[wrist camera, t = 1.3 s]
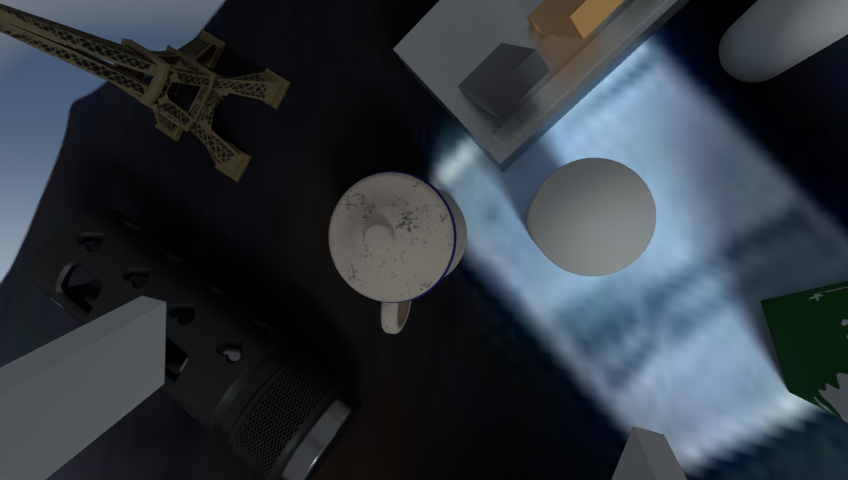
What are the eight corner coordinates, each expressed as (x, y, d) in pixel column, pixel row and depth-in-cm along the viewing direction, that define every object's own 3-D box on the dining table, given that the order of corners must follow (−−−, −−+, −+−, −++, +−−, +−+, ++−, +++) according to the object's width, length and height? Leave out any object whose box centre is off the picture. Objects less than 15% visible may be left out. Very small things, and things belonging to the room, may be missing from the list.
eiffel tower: (291, 83, 41) (-44, -125, 17) (238, 182, 43) (-140, 124, 18) (205, 30, 43) (-213, -228, 18) (157, 127, 44) (-288, 7, 20)
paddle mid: (580, -10, 31) (639, -14, 25) (535, 33, 32) (583, 39, 26) (568, -30, 30) (626, -39, 24) (523, 14, 31) (569, 16, 25)
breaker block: (702, -12, 34) (736, -55, 28) (502, 172, 37) (500, 163, 32) (591, -116, 35) (603, -175, 30) (409, 71, 39) (391, 47, 33)
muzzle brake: (159, 208, 45) (53, 203, 34) (384, 375, 40) (338, 426, 30) (118, 286, 46) (4, 303, 36) (331, 456, 42) (270, 530, 31)
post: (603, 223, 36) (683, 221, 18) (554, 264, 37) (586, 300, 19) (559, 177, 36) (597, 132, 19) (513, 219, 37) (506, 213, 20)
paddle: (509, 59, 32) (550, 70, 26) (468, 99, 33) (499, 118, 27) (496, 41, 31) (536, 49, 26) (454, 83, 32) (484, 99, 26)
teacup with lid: (374, 178, 40) (315, 159, 28) (476, 187, 38) (457, 171, 26) (360, 310, 40) (298, 344, 29) (460, 326, 38) (435, 369, 27)
